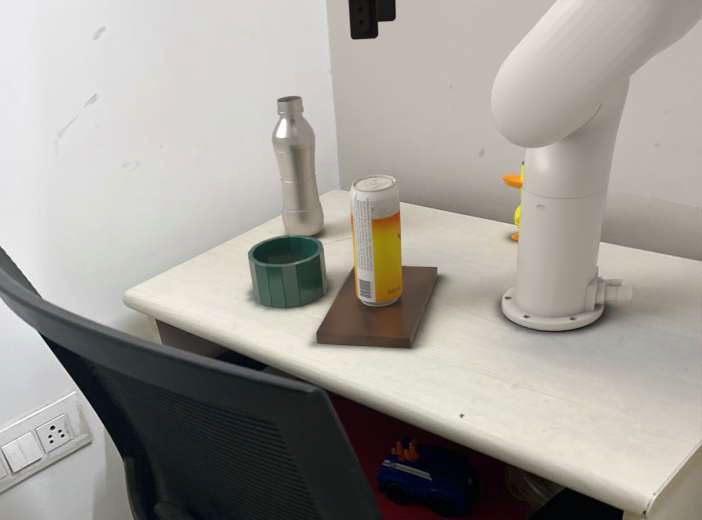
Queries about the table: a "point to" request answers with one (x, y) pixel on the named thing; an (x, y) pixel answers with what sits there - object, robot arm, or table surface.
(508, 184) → the toy figure
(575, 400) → the table surface
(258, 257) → the crock
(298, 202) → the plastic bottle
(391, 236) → the beer can
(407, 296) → the board
